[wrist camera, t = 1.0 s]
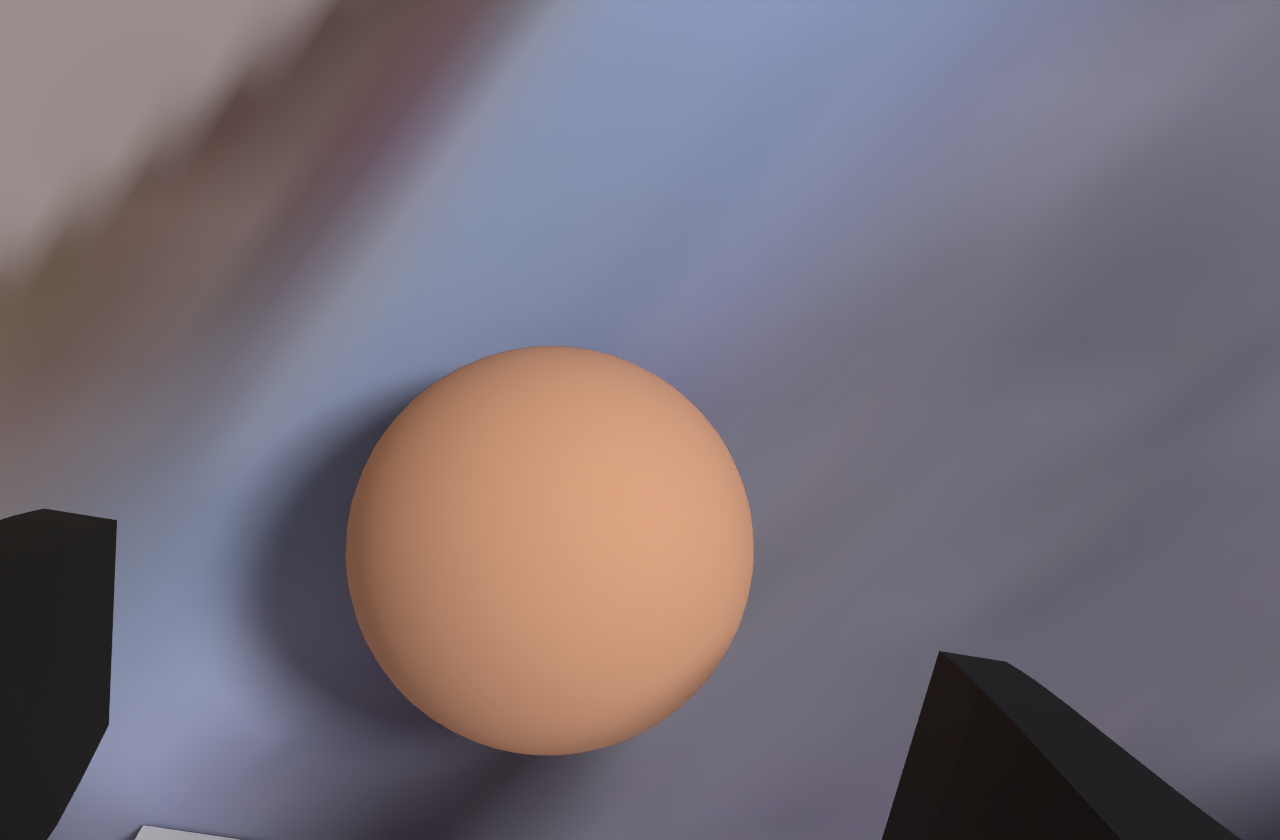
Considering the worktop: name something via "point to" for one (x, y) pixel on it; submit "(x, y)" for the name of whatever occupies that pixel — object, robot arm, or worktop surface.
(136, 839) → the bar
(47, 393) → the worktop surface
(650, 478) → the ball
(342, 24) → the worktop surface
